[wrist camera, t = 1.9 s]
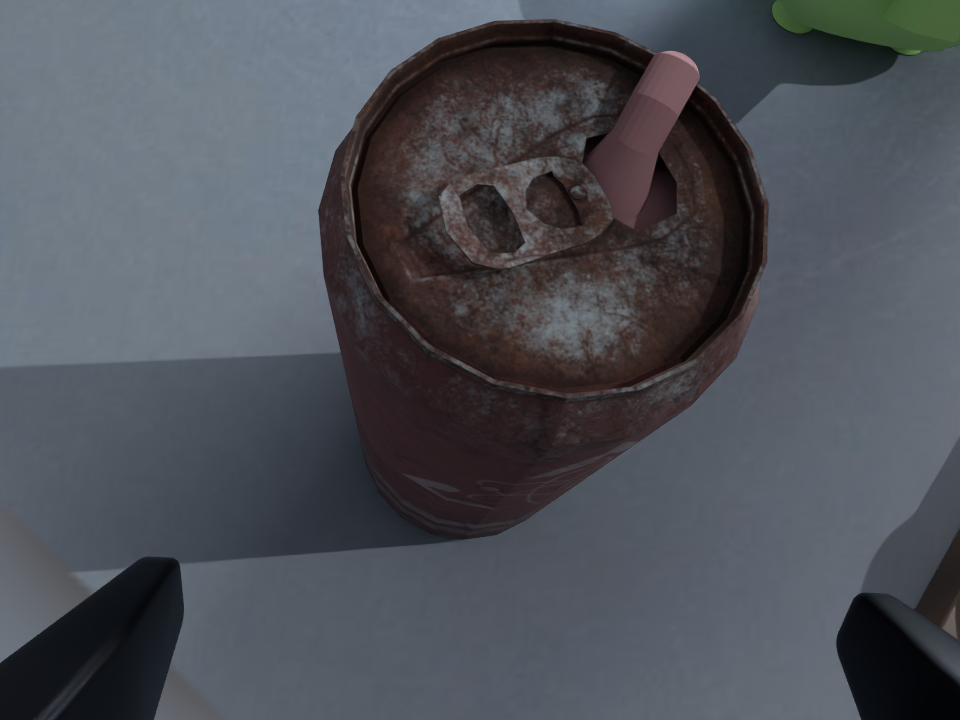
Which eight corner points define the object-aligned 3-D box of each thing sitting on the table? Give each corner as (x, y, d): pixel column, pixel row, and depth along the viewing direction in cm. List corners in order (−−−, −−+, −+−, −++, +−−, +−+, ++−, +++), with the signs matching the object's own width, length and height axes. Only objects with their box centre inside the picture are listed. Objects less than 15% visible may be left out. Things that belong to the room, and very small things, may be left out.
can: (595, 398, 23) (866, 110, 10) (503, 578, 21) (691, 527, 7) (431, 308, 23) (477, -86, 10) (325, 475, 21) (204, 253, 8)
